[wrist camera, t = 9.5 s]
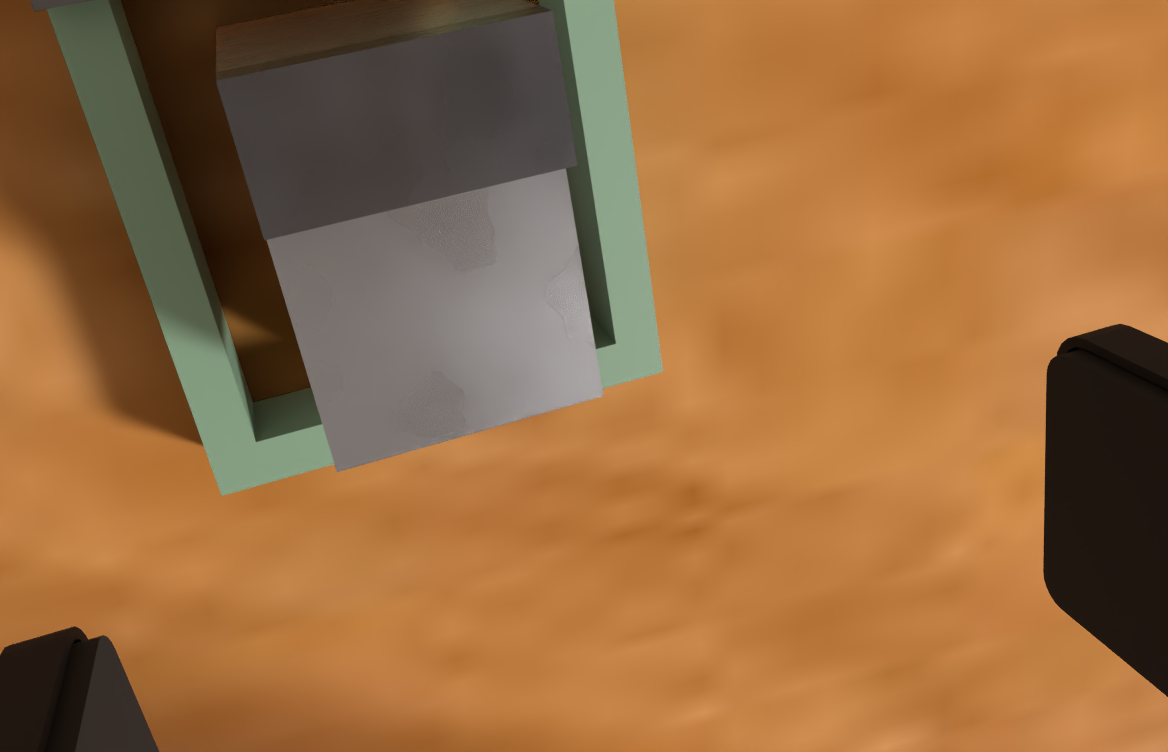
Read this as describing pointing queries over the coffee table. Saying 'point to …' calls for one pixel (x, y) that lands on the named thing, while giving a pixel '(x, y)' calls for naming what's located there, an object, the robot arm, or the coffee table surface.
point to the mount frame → (185, 286)
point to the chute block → (416, 212)
